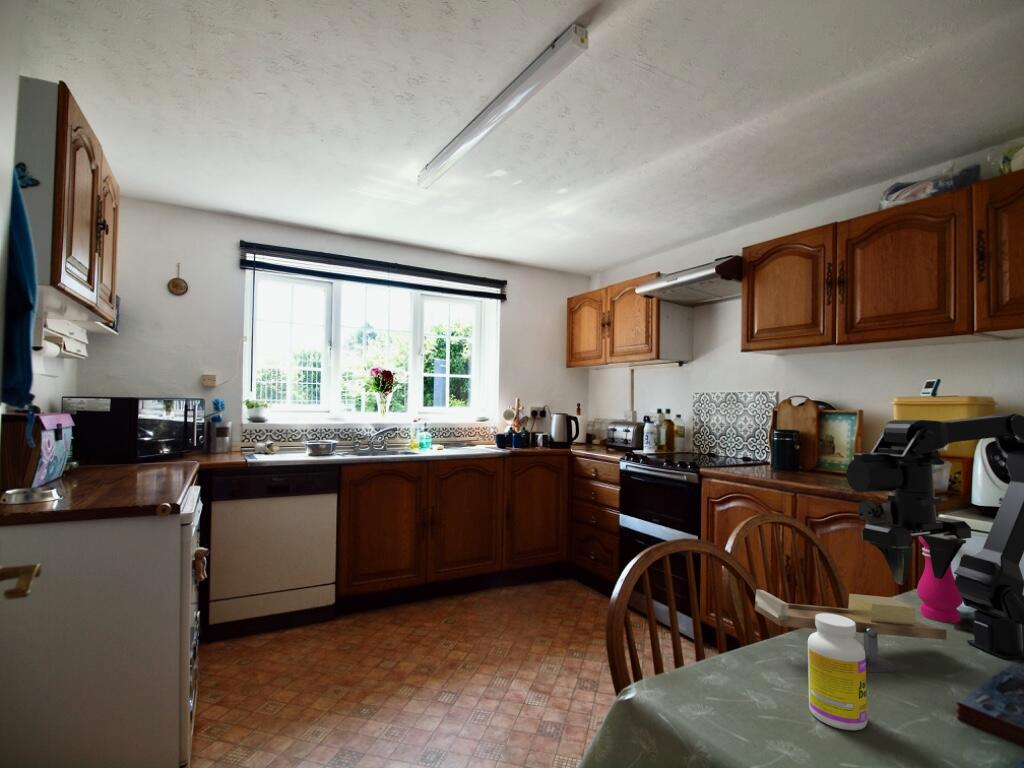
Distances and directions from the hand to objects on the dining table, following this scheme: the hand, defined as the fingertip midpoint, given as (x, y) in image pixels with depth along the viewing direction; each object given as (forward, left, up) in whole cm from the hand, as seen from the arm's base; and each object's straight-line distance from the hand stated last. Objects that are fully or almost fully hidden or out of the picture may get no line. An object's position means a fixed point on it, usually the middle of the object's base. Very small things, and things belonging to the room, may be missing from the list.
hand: (919, 581), depth 90 cm
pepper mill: (-18, -14, -12) cm, 26 cm away
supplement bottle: (+30, +17, -12) cm, 36 cm away
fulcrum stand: (+14, 0, -12) cm, 18 cm away
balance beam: (+14, 0, -7) cm, 15 cm away
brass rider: (+8, 0, -7) cm, 10 cm away
